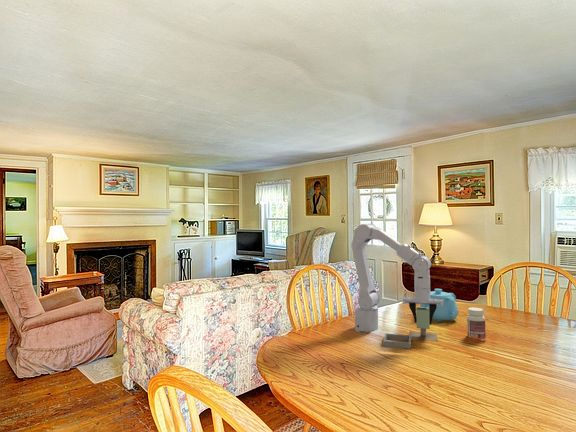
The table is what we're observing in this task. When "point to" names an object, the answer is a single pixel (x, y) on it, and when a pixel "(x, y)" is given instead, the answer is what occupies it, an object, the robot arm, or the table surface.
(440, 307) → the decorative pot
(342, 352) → the table surface
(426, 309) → the green sleeve
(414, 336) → the pin block
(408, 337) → the grey tray
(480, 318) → the pill bottle
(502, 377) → the table surface
